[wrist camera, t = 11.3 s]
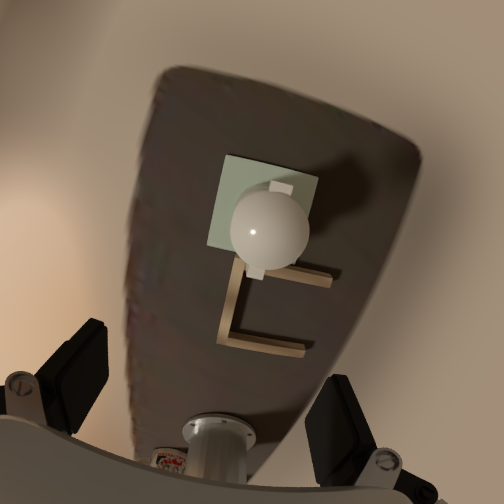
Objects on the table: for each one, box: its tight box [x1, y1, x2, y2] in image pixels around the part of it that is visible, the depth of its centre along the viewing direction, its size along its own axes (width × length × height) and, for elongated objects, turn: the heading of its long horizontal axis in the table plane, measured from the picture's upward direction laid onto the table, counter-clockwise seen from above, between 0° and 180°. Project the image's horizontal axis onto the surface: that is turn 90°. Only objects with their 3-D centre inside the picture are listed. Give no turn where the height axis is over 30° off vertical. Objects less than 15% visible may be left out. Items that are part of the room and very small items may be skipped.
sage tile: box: [207, 155, 319, 265], centre depth 30 cm, size 10×10×1 cm
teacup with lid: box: [136, 448, 187, 474], centre depth 39 cm, size 12×9×12 cm
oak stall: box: [216, 253, 333, 358], centre depth 33 cm, size 11×11×2 cm
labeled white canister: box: [230, 180, 309, 280], centre depth 26 cm, size 6×8×9 cm
